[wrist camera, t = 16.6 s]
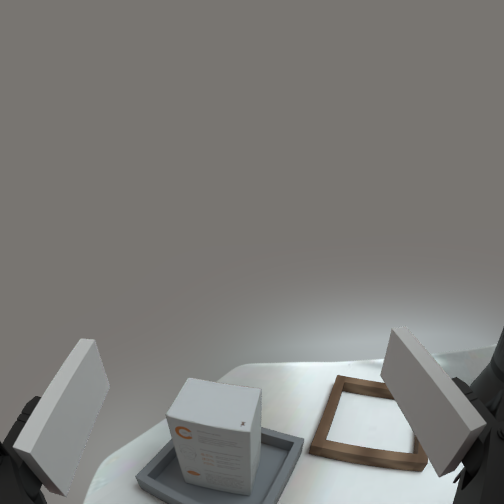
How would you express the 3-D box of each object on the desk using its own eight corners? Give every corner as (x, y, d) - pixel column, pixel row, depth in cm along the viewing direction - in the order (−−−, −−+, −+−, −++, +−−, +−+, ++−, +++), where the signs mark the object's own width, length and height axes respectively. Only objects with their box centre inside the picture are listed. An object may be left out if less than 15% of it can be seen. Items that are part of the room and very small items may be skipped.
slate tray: (301, 451, 35) (304, 438, 34) (255, 541, 22) (256, 533, 21) (203, 419, 41) (201, 406, 40) (141, 488, 28) (135, 476, 27)
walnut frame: (424, 397, 42) (427, 388, 41) (422, 471, 28) (427, 463, 28) (335, 383, 48) (337, 374, 48) (308, 453, 34) (310, 445, 34)
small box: (260, 458, 33) (263, 387, 29) (250, 497, 27) (251, 432, 23) (199, 447, 35) (187, 375, 31) (183, 482, 29) (163, 415, 25)
